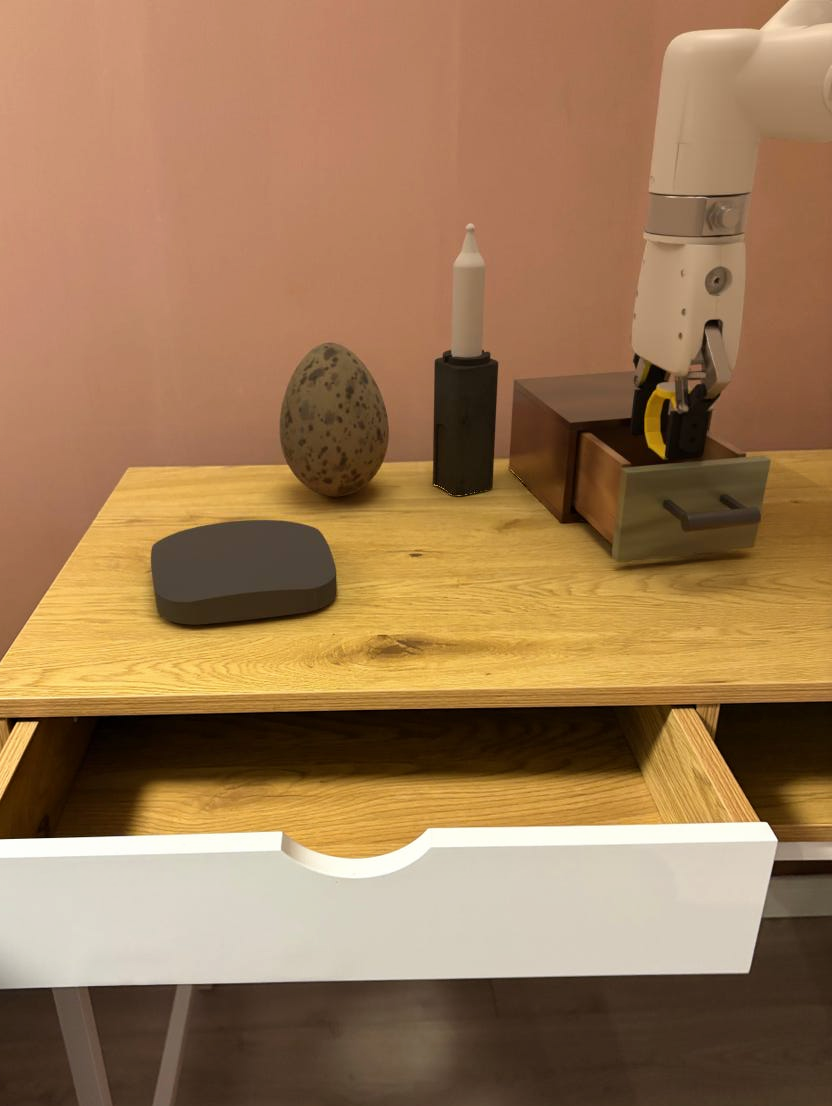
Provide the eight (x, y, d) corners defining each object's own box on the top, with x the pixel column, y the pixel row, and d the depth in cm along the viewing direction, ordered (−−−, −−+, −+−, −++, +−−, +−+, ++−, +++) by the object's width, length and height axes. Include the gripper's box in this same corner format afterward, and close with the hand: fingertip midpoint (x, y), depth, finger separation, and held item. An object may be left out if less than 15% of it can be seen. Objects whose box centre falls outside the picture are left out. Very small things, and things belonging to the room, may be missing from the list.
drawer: (786, 571, 79) (806, 479, 75) (642, 587, 77) (654, 493, 73) (675, 489, 95) (686, 411, 91) (554, 500, 93) (561, 420, 90)
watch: (633, 445, 86) (641, 378, 83) (662, 442, 87) (671, 375, 84) (664, 467, 81) (674, 396, 78) (695, 464, 82) (706, 393, 79)
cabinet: (697, 510, 93) (712, 411, 88) (561, 523, 91) (569, 422, 86) (628, 458, 106) (638, 370, 101) (508, 469, 104) (513, 379, 100)
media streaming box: (156, 634, 74) (152, 599, 72) (153, 557, 86) (149, 526, 85) (346, 613, 76) (344, 578, 75) (315, 541, 89) (314, 510, 87)
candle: (428, 483, 101) (431, 223, 89) (469, 474, 103) (478, 219, 91) (454, 498, 97) (462, 228, 85) (497, 489, 99) (510, 223, 87)
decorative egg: (266, 488, 101) (255, 340, 94) (357, 469, 105) (353, 326, 98) (312, 521, 93) (304, 362, 85) (409, 499, 97) (409, 346, 90)
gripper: (805, 228, 68) (759, 474, 77) (688, 206, 83) (660, 414, 92) (705, 233, 67) (669, 483, 76) (604, 210, 82) (585, 420, 91)
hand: (665, 443), depth 84 cm, fingers closed on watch, 6 cm apart
